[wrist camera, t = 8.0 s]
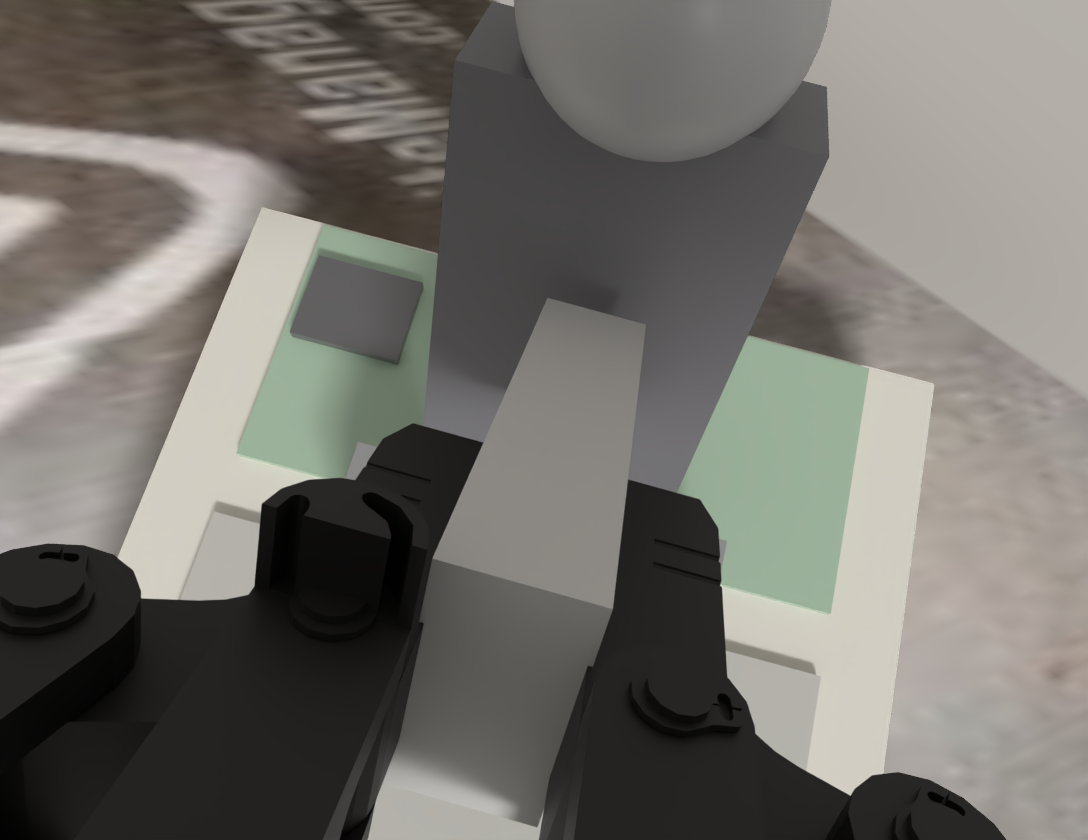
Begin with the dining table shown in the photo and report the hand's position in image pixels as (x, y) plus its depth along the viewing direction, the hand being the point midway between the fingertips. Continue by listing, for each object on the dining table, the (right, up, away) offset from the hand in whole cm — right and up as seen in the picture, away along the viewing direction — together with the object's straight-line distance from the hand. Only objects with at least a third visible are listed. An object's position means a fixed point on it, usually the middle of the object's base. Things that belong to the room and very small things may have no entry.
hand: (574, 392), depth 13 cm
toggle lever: (-1, -4, +8) cm, 10 cm away
